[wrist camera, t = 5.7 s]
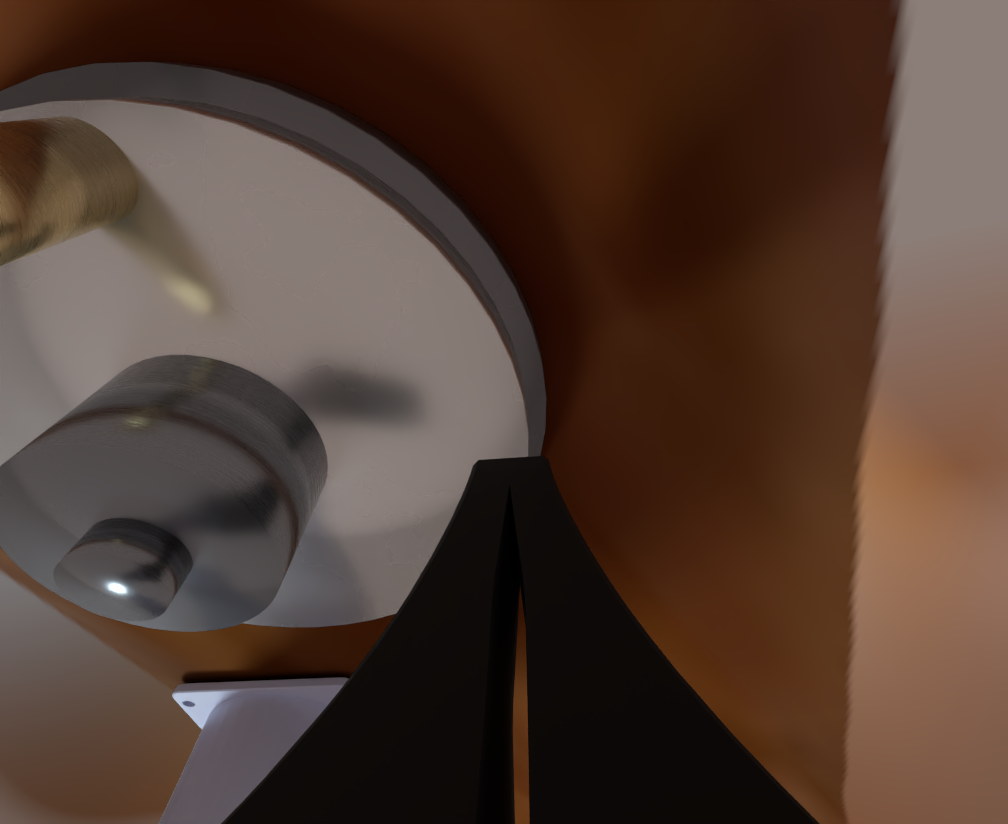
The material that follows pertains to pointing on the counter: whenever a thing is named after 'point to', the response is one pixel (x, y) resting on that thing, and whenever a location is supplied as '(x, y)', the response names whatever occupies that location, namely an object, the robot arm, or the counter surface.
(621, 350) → the counter surface
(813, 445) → the counter surface
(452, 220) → the turntable base
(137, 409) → the lid
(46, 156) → the turntable
